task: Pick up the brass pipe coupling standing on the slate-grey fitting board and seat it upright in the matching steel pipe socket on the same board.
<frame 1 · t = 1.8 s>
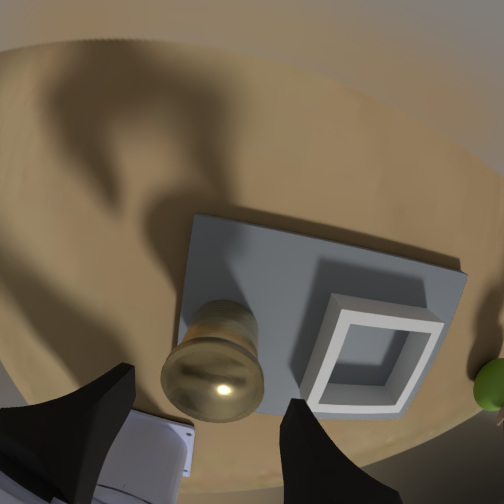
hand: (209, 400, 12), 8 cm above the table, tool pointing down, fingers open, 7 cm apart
fitting board: (324, 339, 20), on the table
brass coupling: (224, 330, 18), point 1 cm above the table, touching fitting board
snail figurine: (485, 366, 21), on the table
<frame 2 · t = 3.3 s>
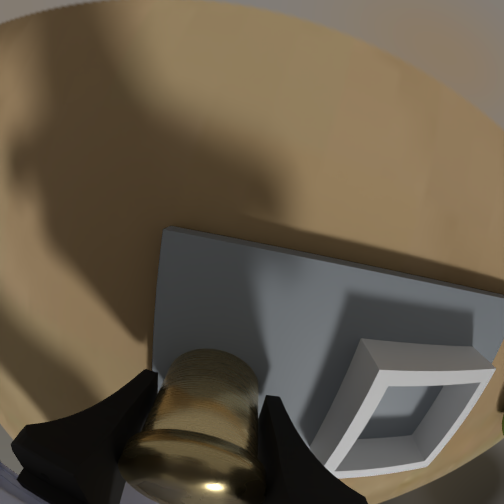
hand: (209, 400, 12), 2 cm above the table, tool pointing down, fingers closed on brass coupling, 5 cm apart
fitting board: (344, 390, 14), on the table
brass coupling: (212, 386, 13), point 1 cm above the table, touching fitting board, gripper
when the fingers open (4 cm above the table, at t = 7.1 s): brass coupling drops 2 cm, resting on fitting board.
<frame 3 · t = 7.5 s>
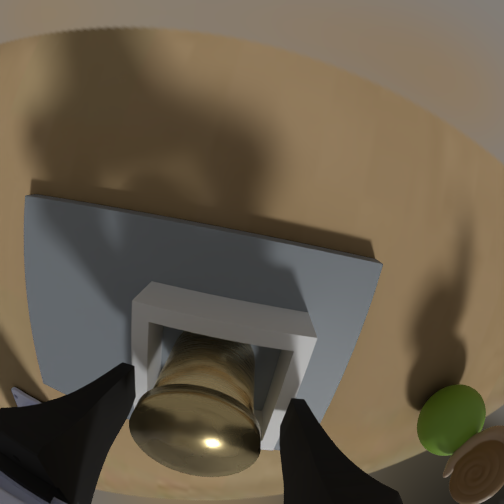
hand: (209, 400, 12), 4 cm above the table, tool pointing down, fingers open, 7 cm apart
fitting board: (168, 341, 16), on the table
brass coupling: (213, 359, 15), point 1 cm above the table, touching fitting board
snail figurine: (440, 392, 17), on the table
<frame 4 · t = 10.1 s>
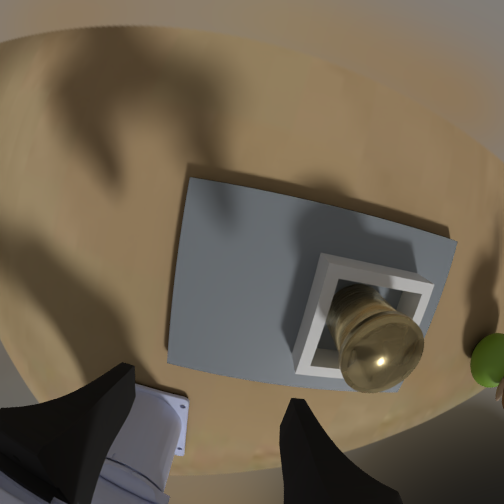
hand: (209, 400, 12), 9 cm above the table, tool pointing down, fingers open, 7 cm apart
fitting board: (315, 303, 20), on the table
brass coupling: (354, 312, 20), point 1 cm above the table, touching fitting board
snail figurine: (482, 343, 22), on the table
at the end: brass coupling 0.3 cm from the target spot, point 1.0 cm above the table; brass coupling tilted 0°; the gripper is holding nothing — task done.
